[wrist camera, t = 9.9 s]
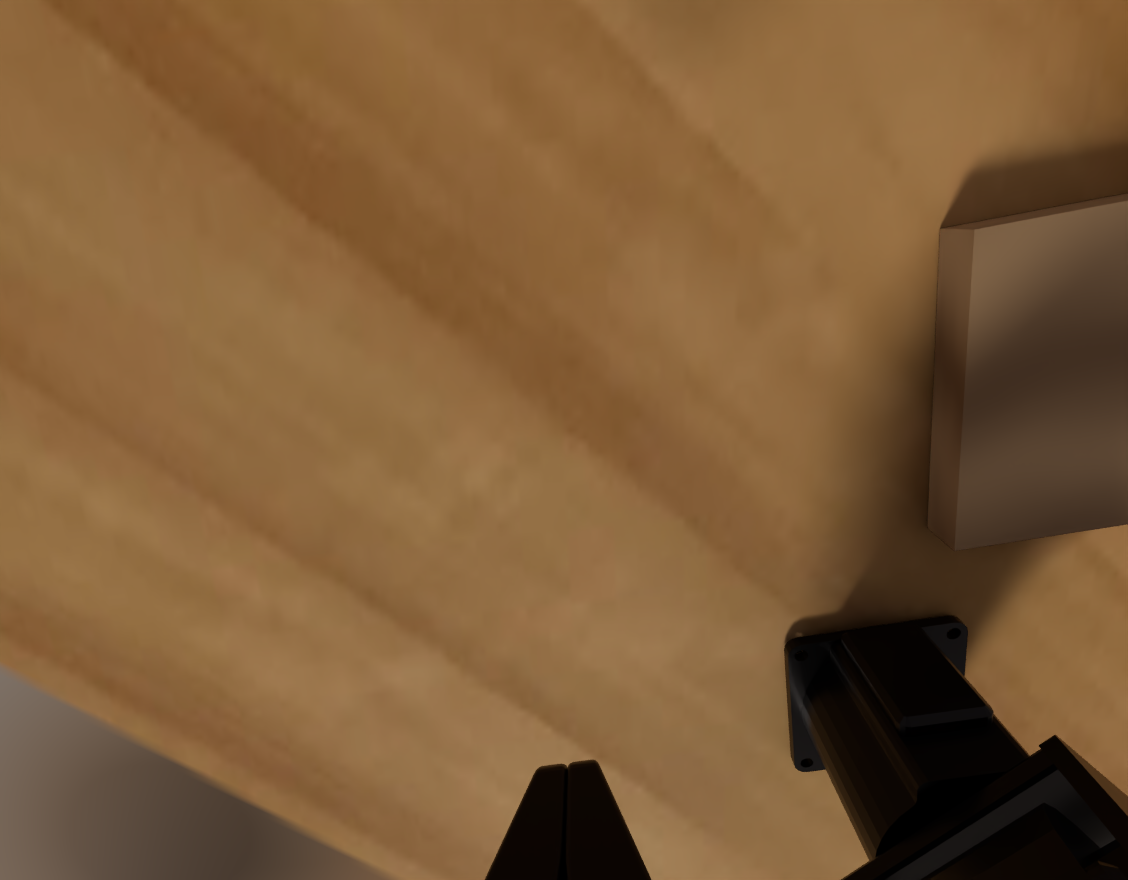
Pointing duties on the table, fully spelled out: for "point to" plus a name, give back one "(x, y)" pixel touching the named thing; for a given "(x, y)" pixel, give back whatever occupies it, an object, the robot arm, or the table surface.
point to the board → (1031, 376)
